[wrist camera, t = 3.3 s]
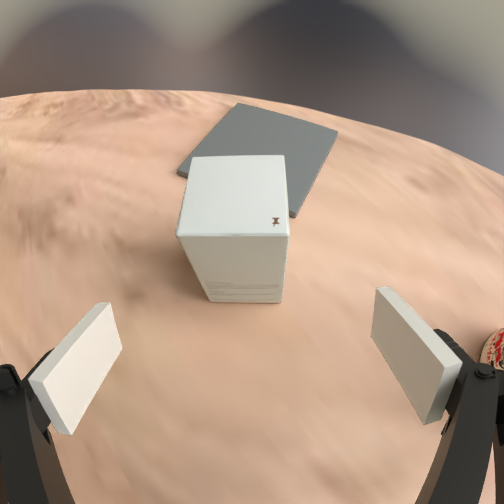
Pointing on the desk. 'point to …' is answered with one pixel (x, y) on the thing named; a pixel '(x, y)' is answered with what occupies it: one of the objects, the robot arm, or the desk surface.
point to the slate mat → (270, 146)
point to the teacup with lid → (494, 351)
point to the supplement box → (237, 226)
